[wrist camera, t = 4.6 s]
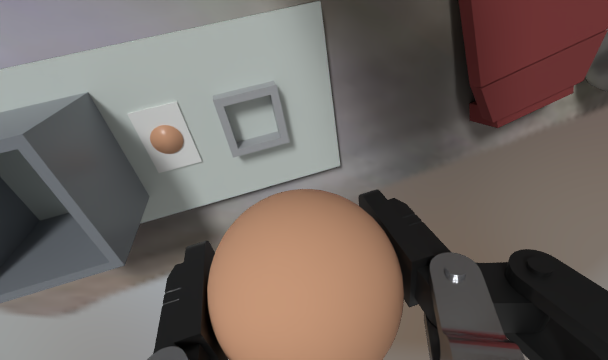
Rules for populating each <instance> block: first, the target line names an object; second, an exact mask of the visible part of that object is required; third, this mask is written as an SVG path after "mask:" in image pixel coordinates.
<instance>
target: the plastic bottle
mask: <svg viewBox="0 0 608 360" xmlns="http://www.w3.org/2000/svg"><path fill="white" fill-rule="evenodd" d="M585 78H586V80H587V81H588V83H589V84H590V85H592V86H594V87H597V88H599V89H601V90H604V91H608V32H607V33H606V35H605V37H604V39H603V41H602V43H601V46H600V48H599V50H598V52H597V54H596V56H595V58H594V60H593V62H592V64H591V66H590V68H589V70H588V72H587V74H586V76H585Z"/></svg>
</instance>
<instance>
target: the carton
mask: <svg viewBox="0 0 608 360" xmlns="http://www.w3.org/2000/svg"><path fill="white" fill-rule="evenodd" d="M459 8H460V15H461V23H462V30H463V38H464V45H465V53H466V61H467V68H468V76H469V83H470V87H471V89H472V92H473V95H474V97H475V100H476V101H474V102H472V103H469V109H470V121H473V122H477V123H481V124H485V125H488V126H492V127H496V128H499V127H501V126H503V125H505V124H507V123H510V122H512V121H514V120H516V119H518V118H520V117H522V116H525V115H527V114H529V113H531V112H533V111H535V110H537V109H540V108H542V107H544V106H546V105H548V104H550V103H553V102H555V101H557V100H559V99H561V98H563V97H565V96H568V95H570V94H572V93H573V88H574V85H576V84H578V83H580V82H582V81H584V79H585V76H586V74H587V72H588V70H589V68H590V66H591V64H592V62H593V60H594V58H595V56H596V54H597V52H598V50H599V48H600V46H601V43H602V41H603V39H604V37H605V35H606V33H607V31H608V30H606V29H608V0H459Z"/></svg>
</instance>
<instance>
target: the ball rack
mask: <svg viewBox="0 0 608 360" xmlns="http://www.w3.org/2000/svg"><path fill="white" fill-rule="evenodd" d="M338 166H340V159H339V151H338V142H337V134H336V126H335V117H334V109H333V101H332V92H331V84H330V76H329V68H328V59H327V51H326V43H325V34H324V26H323V18H322V9H321V1H316V2H311V3H306V4H302V5H297V6H292V7H288V8H283V9H278V10H274V11H269V12H264V13H260V14H255V15H250V16H246V17H241V18H236V19H232V20H227V21H222V22H218V23H213V24H208V25H204V26H199V27H194V28H190V29H185V30H180V31H176V32H171V33H166V34H162V35H157V36H152V37H148V38H143V39H138V40H134V41H129V42H124V43H120V44H115V45H110V46H106V47H101V48H96V49H92V50H87V51H82V52H78V53H73V54H68V55H64V56H59V57H54V58H50V59H45V60H40V61H36V62H31V63H26V64H22V65H17V66H12V67H8V68H3V69H0V303H3V302H6V301H9V300H12V299H16V298H19V297H22V296H26V295H29V294H32V293H35V292H39V291H42V290H45V289H49V288H52V287H55V286H59V285H62V284H65V283H68V282H72V281H75V280H78V279H82V278H85V277H88V276H91V275H95V274H98V273H101V272H105V271H108V270H111V269H114V268H118V267H121V266H124V265H125V263H126V260H127V257H128V255H129V252H130V249H131V246H132V244H133V241H134V238H135V236H136V233H137V230H138V227H139V225H140V224H141V223H144V222H148V221H151V220H155V219H158V218H162V217H165V216H169V215H172V214H175V213H179V212H182V211H186V210H189V209H193V208H196V207H200V206H203V205H207V204H210V203H213V202H217V201H220V200H224V199H227V198H231V197H234V196H238V195H241V194H245V193H248V192H252V191H255V190H258V189H262V188H265V187H269V186H272V185H276V184H279V183H283V182H286V181H290V180H293V179H296V178H300V177H303V176H307V175H310V174H314V173H317V172H321V171H324V170H328V169H331V168H335V167H338Z"/></svg>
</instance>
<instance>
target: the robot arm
mask: <svg viewBox="0 0 608 360" xmlns="http://www.w3.org/2000/svg"><path fill="white" fill-rule="evenodd" d="M359 206H360V207H361V208H362V209H363V210H364V211H366V212H367V213H368V214H369V215H370V216H372V217H373V218H374V220H375V221H376V222H377V223H378V224H379V225H380V227H381V228H382V229H383V230H384V232H385V233H386V235H387V237H388V238H389V240H390V242H391V244H392V245H393V247H394V250H395V252H396V255H397V257H398V260H399V264H400V268H401V272H402V276H403V288H404V300H405V302H406V303H407V305H408V306H409V307H412V306H414V305H417V304H419V305H420V306H421V308H422V310H423V311H424V323H425V329H426V336H427V343H428V349H429V356H430V360H525V359H524V356H523V354H524V355H525V356H526V357H528V359H529V360H608V291H607V290H605V289H604V288H602V287H601V286H599V285H597V284H596V283H594V282H593V281H591V280H589V279H588V278H586V277H585V276H583V275H581V274H580V273H578V272H577V271H575V270H574V269H572V268H570V267H569V266H567V265H566V264H564V263H563V262H561V261H559V260H558V259H556V258H554V257H552V256H551V255H549V254H546V253H544V252H541V251H537V250H529V249H528V250H527V249H525V250H519V251H516V252H514V253H513V254H512V255H511V256H510V258H509V262H503V263H475V262H474V261H472V260H471V259H469V258H468V257H466V256H464V255H461V254H457V253H452V252H450V250H448V248H447V247H446V246H445V245H444V244H443V243H442V242H441V241H440V240H439V239H438V238H437V237H436V236H435V234H434V233H433V232H432V231H431V230H430V229H429V228H428V227H427V226H426V225H425V224H424V223H423V222H422V221H421V219H420V218H418V216H417V215H415V214H414V212H413V211H412V210H411V209H410V208H409V207H408V205H407V204H405V203H403V202H401V201H399V200H397V199H395V198H392V199H390V200H387V199H386V198H385V196H384V195H383V194H382V193H381V192H380V191H379V190H374V191H370V192H367V193H364V194H361V195H359ZM214 255H215V252H214V250H213V248H212V246H211V244H210V243H209V242H208V241H204V242H201V243H198V244H194V245H191V246H188V247H187V248H186V251H185V258H184V263H181V264H177V265H175V267H174V268H173V270H172V272H171V273H170V275H169V277H168V278H167V283H166V289H165V295H164V300H163V306H162V311H161V317H160V322H159V327H158V333H157V338H156V343H155V349H154V353H153V355H152V356H151V357H149V358H148V359H147V360H228V358H227V356H226V355H225V353H224V351H223V350H222V348H221V346H220V344H219V343H218V341H217V338H216V336H215V333H214V331H213V328H212V324H211V320H210V315H209V310H208V293H207V287H208V279H209V272H210V267H211V264H212V261H213V258H214ZM508 339H509V340H510V341H509V340H508ZM522 353H523V354H522Z"/></svg>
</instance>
